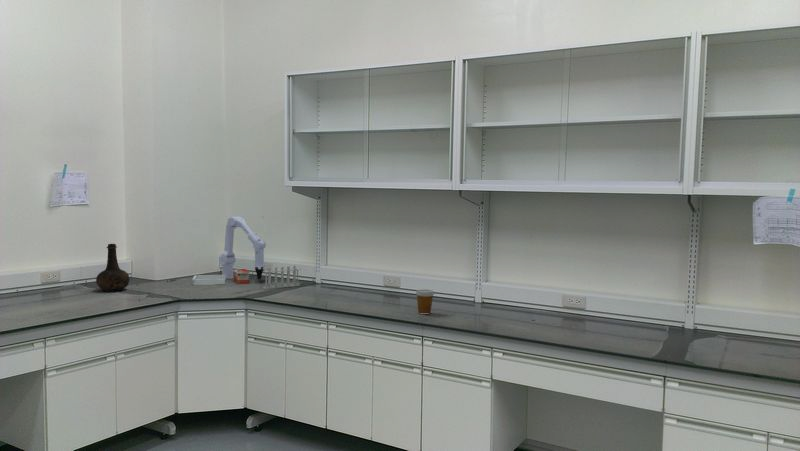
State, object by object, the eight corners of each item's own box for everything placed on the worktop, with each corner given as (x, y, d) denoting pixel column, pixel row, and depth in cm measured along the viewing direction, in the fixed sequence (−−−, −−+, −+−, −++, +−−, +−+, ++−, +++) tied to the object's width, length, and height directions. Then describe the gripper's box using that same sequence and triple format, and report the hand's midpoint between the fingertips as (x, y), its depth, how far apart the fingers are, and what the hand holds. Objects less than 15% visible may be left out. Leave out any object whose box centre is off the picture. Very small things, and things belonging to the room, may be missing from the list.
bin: (194, 280, 392) (194, 275, 391) (225, 280, 397) (225, 274, 397) (192, 285, 374) (192, 279, 374) (224, 284, 379) (224, 279, 379)
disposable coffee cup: (430, 316, 301) (430, 293, 300) (412, 314, 304) (413, 291, 304) (435, 312, 310) (436, 290, 309) (418, 310, 313) (419, 288, 312)
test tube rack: (297, 284, 386) (297, 265, 385) (300, 285, 382) (301, 265, 381) (262, 288, 370) (262, 267, 369) (265, 289, 366) (265, 268, 366)
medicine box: (232, 280, 396) (233, 269, 395) (245, 280, 399) (245, 268, 399) (236, 284, 382) (236, 272, 382) (249, 283, 386) (249, 271, 385)
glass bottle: (135, 288, 358) (135, 242, 356) (118, 293, 340) (118, 245, 339) (107, 287, 360) (107, 242, 358) (89, 292, 342) (89, 244, 340)
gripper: (265, 259, 387) (265, 280, 388) (265, 257, 401) (264, 276, 402) (254, 259, 385) (254, 280, 386) (254, 257, 399) (254, 276, 400)
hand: (259, 278), depth 393 cm, fingers open, 7 cm apart
